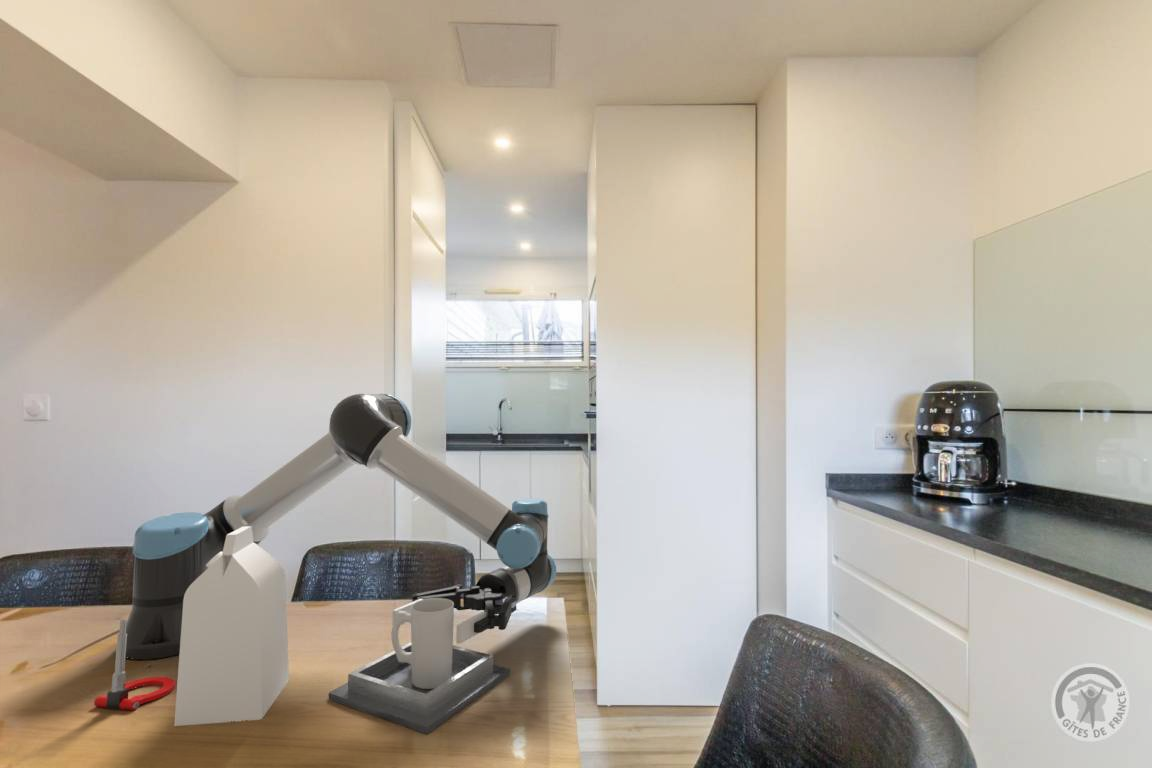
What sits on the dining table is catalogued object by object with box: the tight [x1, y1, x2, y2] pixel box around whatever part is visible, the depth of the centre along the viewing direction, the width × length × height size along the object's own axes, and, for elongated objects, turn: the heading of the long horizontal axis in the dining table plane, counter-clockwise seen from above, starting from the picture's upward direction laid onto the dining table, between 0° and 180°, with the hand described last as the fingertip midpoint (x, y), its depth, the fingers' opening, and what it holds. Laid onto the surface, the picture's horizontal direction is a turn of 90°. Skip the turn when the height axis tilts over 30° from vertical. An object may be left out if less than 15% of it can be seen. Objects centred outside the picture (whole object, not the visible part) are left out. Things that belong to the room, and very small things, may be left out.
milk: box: [173, 526, 290, 727], centre depth 89 cm, size 12×12×26 cm
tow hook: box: [93, 618, 176, 711], centre depth 91 cm, size 8×13×9 cm
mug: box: [390, 598, 455, 689], centre depth 94 cm, size 10×7×12 cm, turn 88°
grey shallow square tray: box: [327, 641, 511, 735], centre depth 94 cm, size 20×20×4 cm
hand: (425, 626), depth 94 cm, fingers open, 13 cm apart
